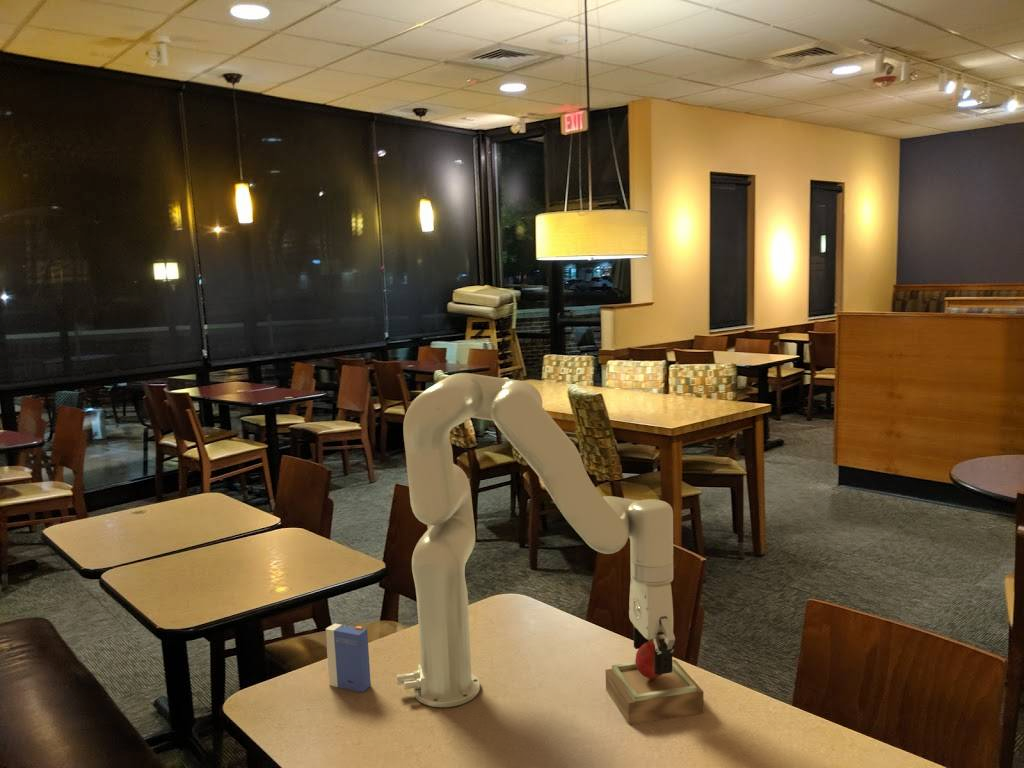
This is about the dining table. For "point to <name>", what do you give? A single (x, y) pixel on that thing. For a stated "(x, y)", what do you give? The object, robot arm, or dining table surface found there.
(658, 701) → the plinth
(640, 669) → the onion
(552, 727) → the dining table surface
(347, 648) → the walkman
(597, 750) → the dining table surface
